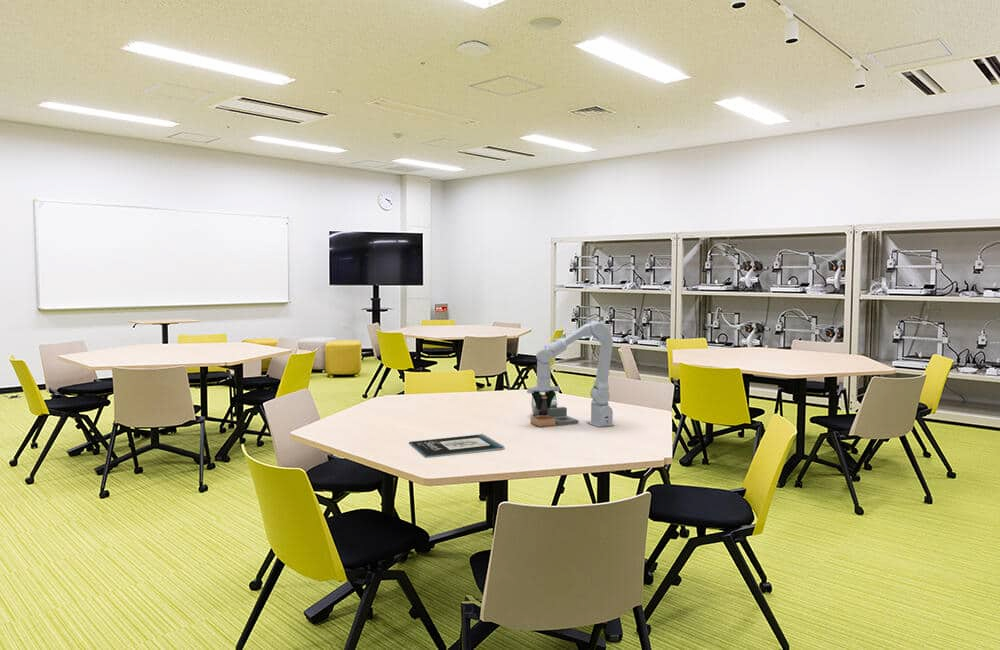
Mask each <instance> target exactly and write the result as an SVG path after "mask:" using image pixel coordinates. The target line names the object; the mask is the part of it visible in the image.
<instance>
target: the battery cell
mask: <svg viewBox="0 0 1000 650" xmlns="http://www.w3.org/2000/svg"><path fill="white" fill-rule="evenodd" d="M546 415H548V396H547V395H542V397H541V407H540V410H538V415H537V416H546Z"/></svg>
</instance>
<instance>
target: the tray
mask: <svg viewBox="0 0 1000 650" xmlns="http://www.w3.org/2000/svg"><path fill="white" fill-rule="evenodd" d="M555 421H556V419H555V418H552V417H550V416H547V415H546V416H541V415H536V416H533V415H532V416H530V425H532V426H534V427H535V426H536V427H538V428H545V427H556V425H555Z"/></svg>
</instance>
